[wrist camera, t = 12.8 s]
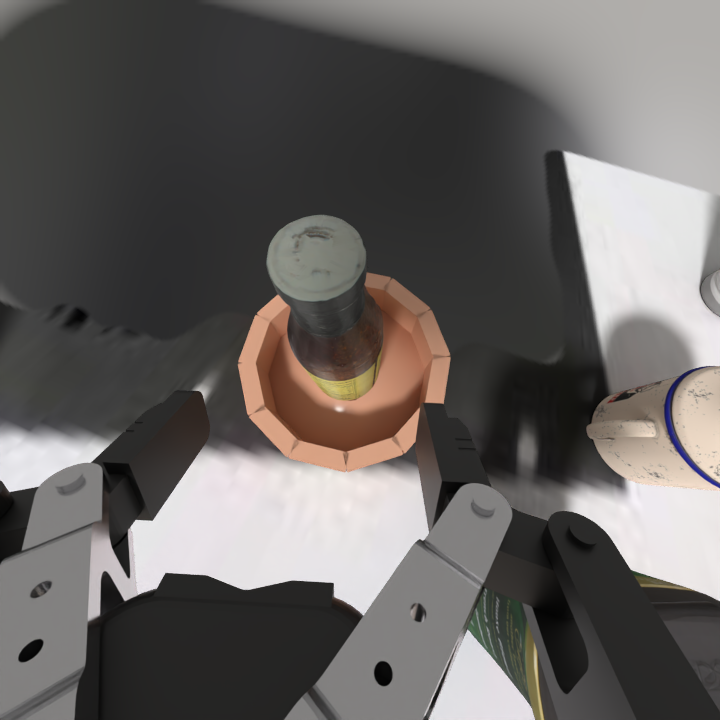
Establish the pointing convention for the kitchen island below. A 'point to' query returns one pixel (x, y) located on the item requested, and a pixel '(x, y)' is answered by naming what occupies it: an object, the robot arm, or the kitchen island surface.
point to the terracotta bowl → (346, 418)
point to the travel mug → (712, 291)
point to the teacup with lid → (664, 431)
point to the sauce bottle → (328, 304)
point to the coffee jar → (672, 602)
